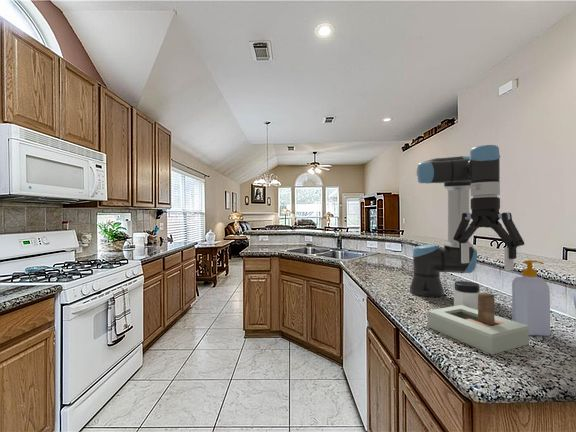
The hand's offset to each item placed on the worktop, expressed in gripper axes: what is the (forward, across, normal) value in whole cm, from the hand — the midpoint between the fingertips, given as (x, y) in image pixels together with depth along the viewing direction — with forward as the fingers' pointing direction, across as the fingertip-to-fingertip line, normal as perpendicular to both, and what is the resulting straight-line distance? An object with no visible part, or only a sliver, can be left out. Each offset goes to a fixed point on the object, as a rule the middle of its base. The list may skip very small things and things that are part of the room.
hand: (485, 266), depth 91 cm
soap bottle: (+23, +1, +20) cm, 30 cm away
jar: (+23, -18, +15) cm, 33 cm away
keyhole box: (+22, -4, 0) cm, 23 cm away
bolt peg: (+22, 0, 0) cm, 23 cm away
